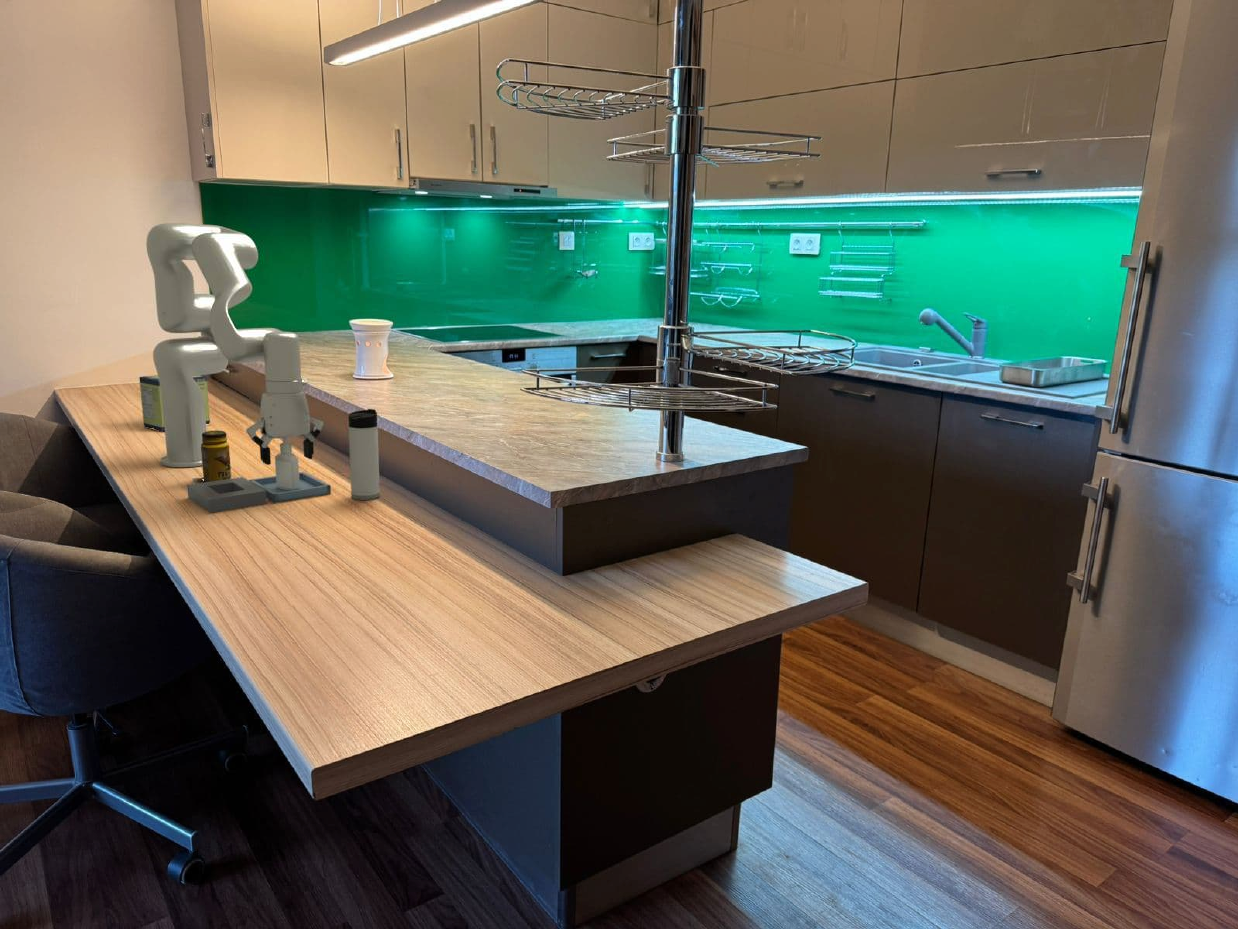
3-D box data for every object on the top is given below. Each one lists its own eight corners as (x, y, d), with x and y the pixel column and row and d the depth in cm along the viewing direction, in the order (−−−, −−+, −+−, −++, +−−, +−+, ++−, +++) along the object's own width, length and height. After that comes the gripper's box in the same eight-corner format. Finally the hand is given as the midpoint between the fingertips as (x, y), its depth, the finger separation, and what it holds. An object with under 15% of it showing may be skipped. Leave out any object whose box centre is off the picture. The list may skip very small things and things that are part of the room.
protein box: (211, 425, 262) (207, 375, 259) (162, 432, 250) (157, 380, 246) (191, 420, 268) (187, 371, 264) (142, 427, 255) (137, 376, 251)
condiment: (235, 483, 201) (232, 434, 199) (196, 487, 197) (192, 437, 194) (230, 476, 207) (226, 428, 204) (191, 479, 203) (187, 430, 200)
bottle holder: (188, 498, 188) (186, 485, 188) (243, 489, 196) (242, 477, 196) (209, 513, 178) (208, 499, 178) (266, 503, 186) (266, 490, 186)
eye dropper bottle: (281, 492, 193) (278, 441, 190) (275, 486, 198) (272, 436, 195) (301, 490, 196) (298, 439, 193) (294, 484, 200) (291, 434, 197)
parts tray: (249, 488, 198) (248, 479, 197) (303, 479, 206) (303, 471, 206) (274, 503, 187) (274, 494, 187) (330, 493, 196) (330, 485, 195)
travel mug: (386, 495, 197) (384, 410, 192) (367, 502, 191) (364, 414, 186) (365, 491, 199) (362, 407, 194) (345, 497, 193) (342, 411, 188)
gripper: (314, 382, 199) (317, 452, 203) (238, 387, 188) (243, 462, 192) (327, 386, 194) (330, 459, 198) (250, 392, 182) (255, 469, 187)
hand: (287, 460), depth 195 cm, fingers open, 9 cm apart
